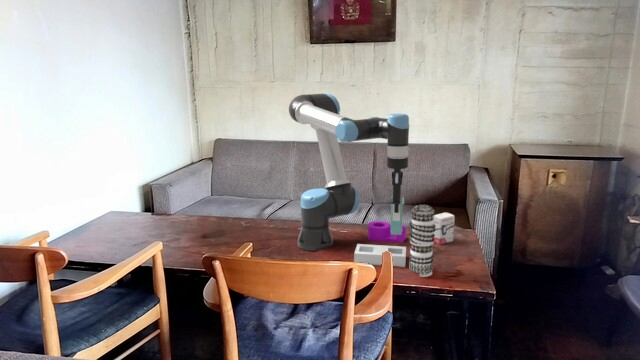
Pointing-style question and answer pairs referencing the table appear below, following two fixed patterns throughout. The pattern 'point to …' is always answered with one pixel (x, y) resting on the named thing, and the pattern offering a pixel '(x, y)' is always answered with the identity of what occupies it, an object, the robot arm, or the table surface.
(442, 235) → the ink box
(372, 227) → the tape dispenser
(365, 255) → the white slotted block
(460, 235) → the table surface
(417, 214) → the decorative candle
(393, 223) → the plug
